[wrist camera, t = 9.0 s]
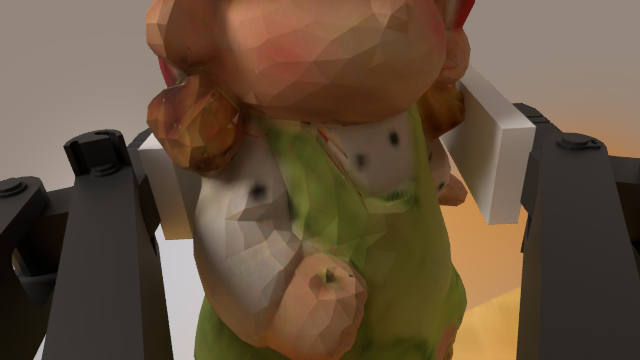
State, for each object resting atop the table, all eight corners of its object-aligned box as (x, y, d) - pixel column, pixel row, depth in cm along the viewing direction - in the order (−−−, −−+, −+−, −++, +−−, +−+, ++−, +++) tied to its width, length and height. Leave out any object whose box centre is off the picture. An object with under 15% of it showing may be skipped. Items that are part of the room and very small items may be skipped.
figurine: (390, 605, 12) (508, -864, 2) (166, 459, 16) (-165, -335, 6) (471, 327, 20) (575, -254, 10) (311, 273, 24) (274, -192, 14)
